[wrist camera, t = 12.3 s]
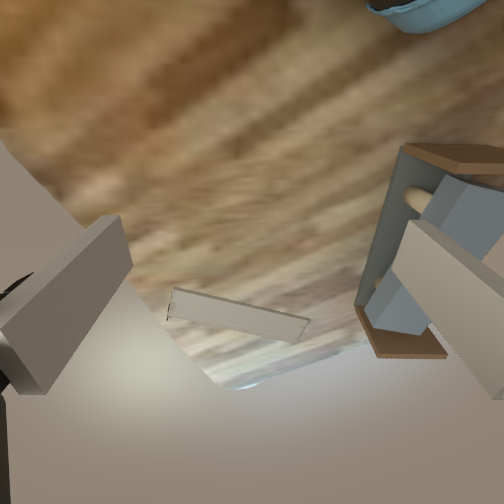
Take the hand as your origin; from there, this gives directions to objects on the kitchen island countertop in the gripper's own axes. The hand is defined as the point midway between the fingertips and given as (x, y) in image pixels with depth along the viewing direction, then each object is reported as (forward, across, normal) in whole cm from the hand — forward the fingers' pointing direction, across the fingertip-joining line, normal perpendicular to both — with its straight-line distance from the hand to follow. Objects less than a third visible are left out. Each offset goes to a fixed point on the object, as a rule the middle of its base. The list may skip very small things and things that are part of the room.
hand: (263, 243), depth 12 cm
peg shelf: (+32, +28, -17) cm, 46 cm away
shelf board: (+26, +28, -17) cm, 42 cm away
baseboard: (+32, -3, -38) cm, 50 cm away
